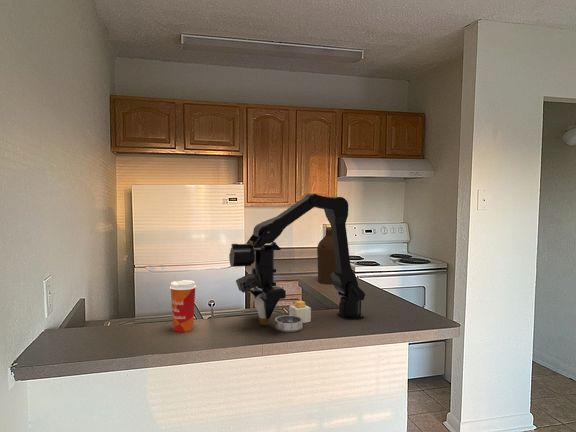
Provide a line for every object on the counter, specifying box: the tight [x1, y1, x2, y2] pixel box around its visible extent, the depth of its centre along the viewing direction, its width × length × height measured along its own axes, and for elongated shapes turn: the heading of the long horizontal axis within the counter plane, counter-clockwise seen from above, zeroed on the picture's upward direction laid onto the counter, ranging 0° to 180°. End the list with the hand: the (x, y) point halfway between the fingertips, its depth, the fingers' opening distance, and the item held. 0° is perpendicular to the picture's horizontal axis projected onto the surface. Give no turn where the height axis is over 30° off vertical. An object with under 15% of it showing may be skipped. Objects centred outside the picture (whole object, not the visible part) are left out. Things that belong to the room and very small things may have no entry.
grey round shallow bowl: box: [274, 314, 304, 334], centre depth 128 cm, size 8×8×3 cm
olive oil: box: [316, 226, 336, 285], centre depth 192 cm, size 11×11×25 cm
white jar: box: [288, 304, 312, 324], centre depth 135 cm, size 5×5×5 cm
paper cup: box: [169, 279, 197, 333], centre depth 125 cm, size 8×8×14 cm
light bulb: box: [253, 294, 269, 327], centre depth 129 cm, size 6×6×10 cm
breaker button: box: [294, 300, 306, 308], centre depth 135 cm, size 2×2×3 cm
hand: (263, 315), depth 129 cm, fingers closed on light bulb, 5 cm apart
